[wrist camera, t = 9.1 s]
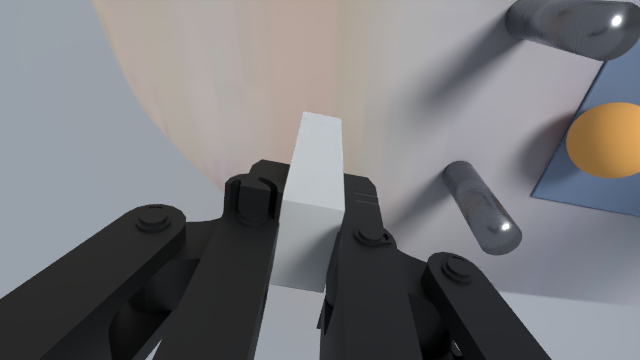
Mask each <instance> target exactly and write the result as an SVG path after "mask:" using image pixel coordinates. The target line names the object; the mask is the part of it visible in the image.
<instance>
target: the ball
mask: <svg viewBox="0 0 640 360" xmlns="http://www.w3.org/2000/svg"><path fill="white" fill-rule="evenodd" d="M566 147H567V152H568V155H569V157H570V159H571V160H572V161H573V163H574V164H575V165H576V166H577V167H578V168H580V169H581V170H583V171H584V172H586V173H588V174H590V175H593V176H596V177H601V178H622V177H627V176H631V175H634V174H636V173H638V172H640V106H638V105H635V104H631V103H624V102H614V103H606V104H602V105H598V106H596V107H593V108H591V109H589V110H587V111H586V112H584V113H583V114H581V115H580V116H579V117H578V118H577V119H576V120H575V121H574V123H573V124H572V125H571V127H570V129H569V131H568V134H567V138H566Z"/></svg>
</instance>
